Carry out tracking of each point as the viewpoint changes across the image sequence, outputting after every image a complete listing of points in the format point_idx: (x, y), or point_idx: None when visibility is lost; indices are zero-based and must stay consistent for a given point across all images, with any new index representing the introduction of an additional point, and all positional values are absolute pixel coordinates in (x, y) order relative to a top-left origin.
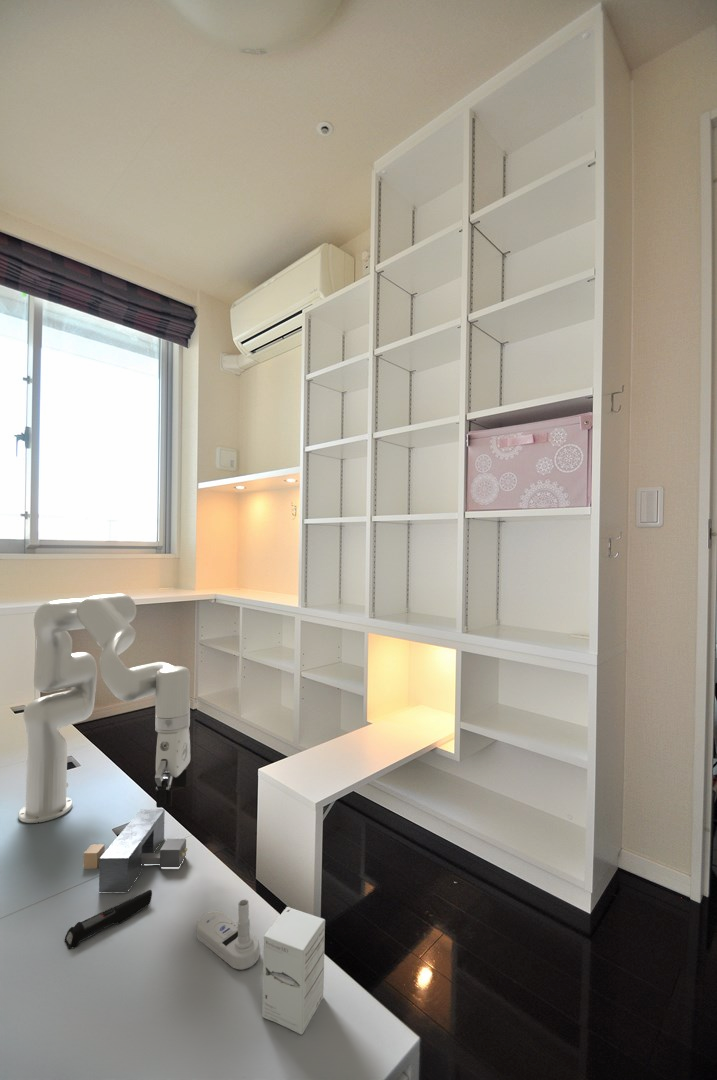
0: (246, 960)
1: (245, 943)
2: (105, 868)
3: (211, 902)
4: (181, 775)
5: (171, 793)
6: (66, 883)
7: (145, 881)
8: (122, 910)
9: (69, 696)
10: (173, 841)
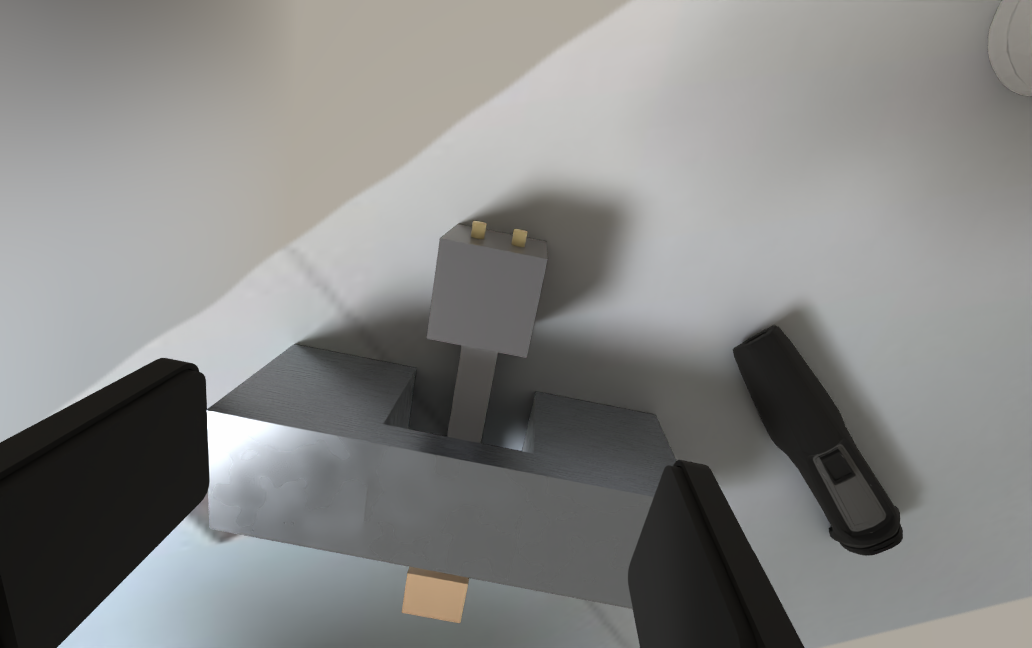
0: None
1: None
2: None
3: (843, 49)
4: (79, 504)
5: (744, 580)
6: (544, 598)
7: (597, 365)
8: (832, 420)
9: None
10: (459, 303)
